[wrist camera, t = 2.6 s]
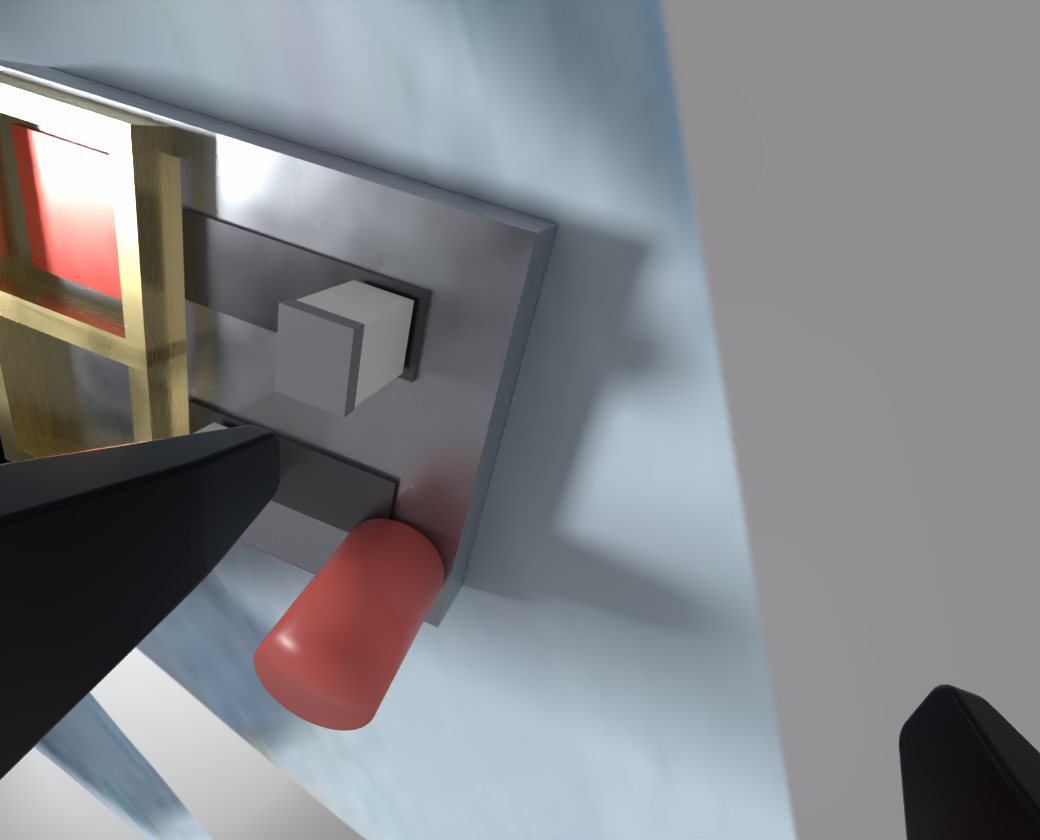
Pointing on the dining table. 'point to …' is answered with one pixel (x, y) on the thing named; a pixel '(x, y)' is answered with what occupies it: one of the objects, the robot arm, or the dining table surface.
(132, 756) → the dining table surface
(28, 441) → the panel
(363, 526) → the red rounded cylinder
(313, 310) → the block
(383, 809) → the dining table surface
